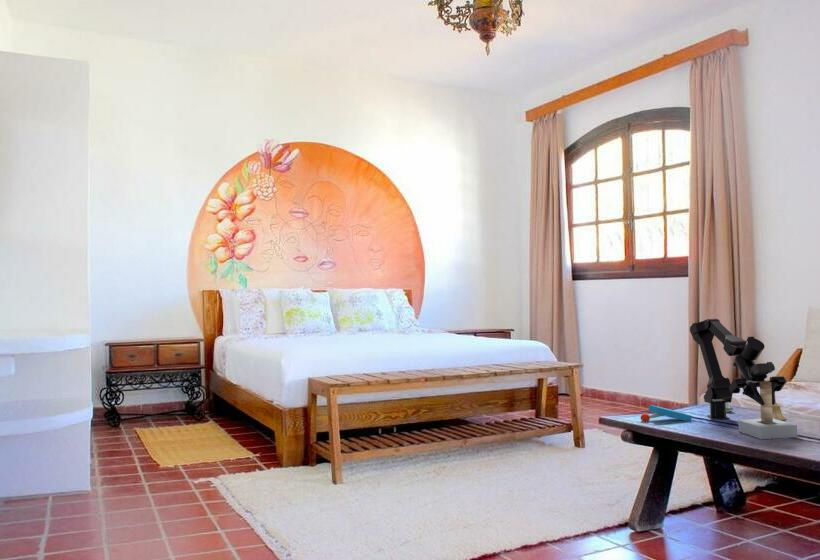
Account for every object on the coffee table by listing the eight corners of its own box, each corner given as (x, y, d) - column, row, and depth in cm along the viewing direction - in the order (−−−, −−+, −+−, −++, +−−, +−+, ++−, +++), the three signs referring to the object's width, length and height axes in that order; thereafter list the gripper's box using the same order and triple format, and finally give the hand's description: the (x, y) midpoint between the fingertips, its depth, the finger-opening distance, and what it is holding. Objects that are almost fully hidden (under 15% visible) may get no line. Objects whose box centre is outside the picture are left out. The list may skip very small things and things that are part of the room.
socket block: (738, 431, 244) (738, 420, 244) (773, 429, 245) (772, 418, 245) (761, 439, 231) (760, 427, 231) (797, 437, 232) (797, 425, 232)
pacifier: (719, 413, 279) (735, 413, 279) (718, 398, 280) (734, 397, 279) (714, 410, 287) (729, 409, 286) (712, 395, 287) (728, 394, 286)
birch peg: (758, 425, 239) (757, 382, 239) (765, 424, 241) (764, 381, 241) (768, 427, 236) (766, 383, 236) (775, 425, 237) (773, 382, 237)
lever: (679, 430, 271) (636, 419, 270) (683, 413, 271) (640, 402, 270) (687, 433, 264) (643, 422, 263) (692, 416, 265) (647, 405, 263)
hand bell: (760, 419, 264) (759, 377, 264) (763, 416, 271) (761, 375, 271) (785, 421, 259) (783, 378, 259) (787, 417, 266) (785, 376, 266)
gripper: (732, 355, 241) (752, 391, 230) (782, 353, 243) (804, 388, 232) (720, 375, 249) (739, 410, 238) (769, 372, 251) (790, 408, 240)
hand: (768, 404), depth 237 cm, fingers closed on birch peg, 3 cm apart
